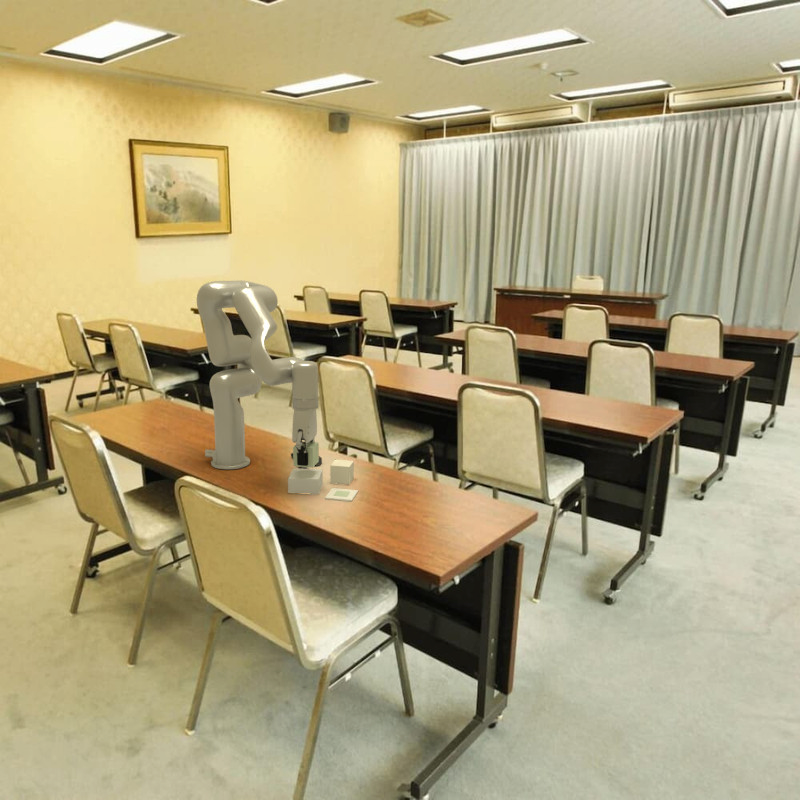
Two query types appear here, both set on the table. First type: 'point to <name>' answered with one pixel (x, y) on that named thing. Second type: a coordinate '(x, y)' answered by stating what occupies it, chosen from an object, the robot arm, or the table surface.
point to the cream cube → (342, 471)
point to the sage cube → (312, 454)
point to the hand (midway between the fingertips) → (306, 461)
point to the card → (341, 494)
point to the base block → (305, 481)
